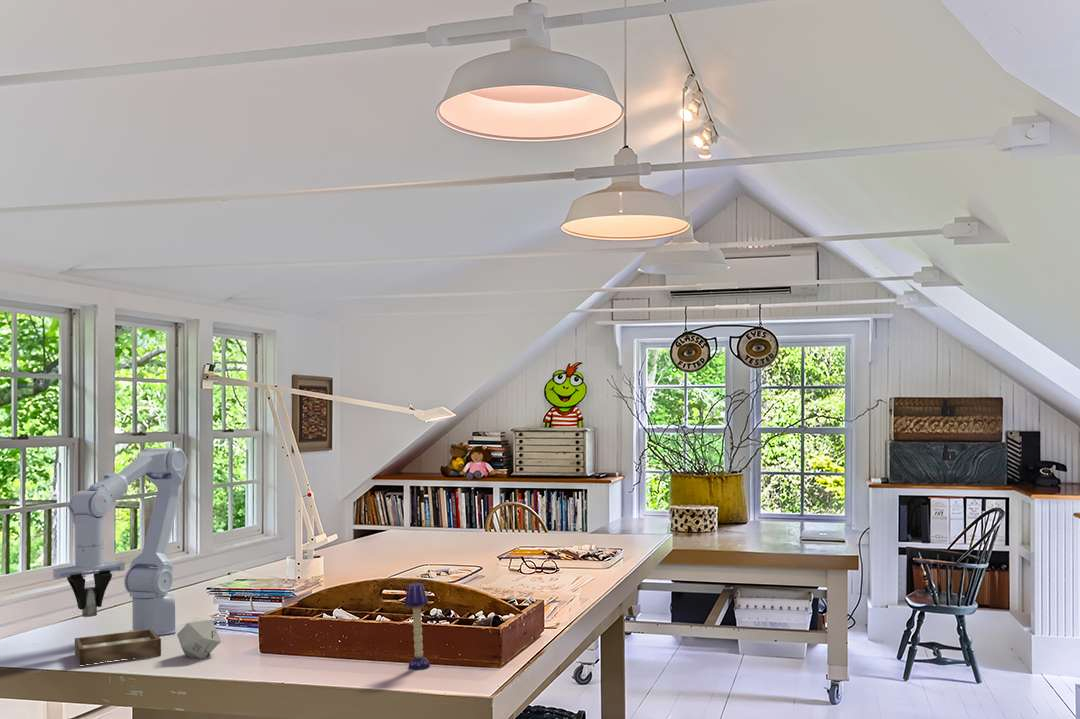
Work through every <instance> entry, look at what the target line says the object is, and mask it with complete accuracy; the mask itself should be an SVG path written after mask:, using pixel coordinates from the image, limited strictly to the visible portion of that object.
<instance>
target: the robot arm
mask: <svg viewBox="0 0 1080 719" xmlns="http://www.w3.org/2000/svg"><path fill="white" fill-rule="evenodd" d="M188 462H189V461H188V459H187V457H186V455H185V451H184V450H183V449H181V447H171V448H169V447H168V448H167V447H164V448H161V447H160V448H154V447H153V448H152V447H145V448H144V449H143V450H142V451H140V452H137V455H136V458H135V459H134V460H132V461H131V462H130V463H129V464H128V465H126V466H125V467H124V468H122V470H120V471H119V472H118V473H117V472H106V473H105V474H103V476H102V477H103V478H101V479H100V480H99V481H96V483H92V484H91V485H89V488H87V489H86V490H79V491H77V492H76V493H75V494H73V496H71V499H70V502H69V504H68V511H69V513H70V514H71V516H72V522H73V524H74V528H75V529H74V530H75V531H74V533H75V534H74V535H75V538H74V539H75V542H74V544H75V545H74V546H75V547H74V548H75V550H74V551H75V552H74V553H75V555H74V558H75V560H74V561H75V562H74V563H75V564H74V565H72V566H70V565H69V566H66V567H59V568H58V567H57V568H53V569H52V570H53V571H52V578H53V579H55V580H58V579H59V580H60V579H64V578H66V580H67V582H68V583H69V586H70V587H71V589H72V591H73V594H74V597H75V599H76V604H77V609H79V610H81V611H82V609H84V605H85V604H84V588H85V587H86V586H85V585H86V579H85V578H84V576H86V575H87V576H88V575H93V579H94V587H97V608H101V607H102V605H103V601H104V596H105V594H106V590H107V588H108V586H109V584H110V582H111V581H112V580H111V579H112V578H113V573H111V572H122V571H125V569H126V568H125V567H126V562H125V561H122V560H119V561H107V562H104V559H105V558H104V557H105V556H104V555H105V554H104V552H105V551H104V549H105V548H104V546H105V544H104V534H105V533H104V516H106V515H107V514H108V512H109V511H110V510H109V509H110V507H111V506H112V504H113V503H114V502H116V501H117V500H118V499H120V498H121V497H122V496H123V495H126V493H127V491H128V488H129V487H128V486H129V485H130V484H133V483H134V482H136V481H137V480H138V479H140V478H142V477H143V476H145V477H146V478H147V479H148V480H149V481H150V483H151V484H153V485H154V486H155V487H156V489H157V490H156V491H157V492H156V495H155V499H154V503H153V507H152V512H151V514H150V519H149V524H148V528H147V531H146V534H145V535H146V536H145V540H144V544H143V548H142V551H141V553H140V554H138V555H137V556H136V557H134V558H133V559H132V560H131V563H130V566H129V569H128V570H127V571H126V573H125V576H124V582H123V584H124V588H125V591H127V592H128V593H129V598H130V597H131V599H132V609H131V610H132V612H131V613H132V629H129V630H128V632H130V631H139V630H147V629H153V630H154V632H155V633H156V634H157V635H158V636H163V635H170V634H177V631H176V600H175V596H174V593H169V591H170V589H171V587H172V585H173V582H174V581H173V579H174V578H173V569H174V564H173V563H172V562H171V561H170V560H169V559H168V557H167V552H168V548H169V543H170V539H171V535H172V531H173V526H174V522H175V520H176V519H175V518H176V513H177V510H178V505H179V503H180V502H179V501H180V497H181V493H182V489H183V483H184V479H185V476H186V470H187V468H188V467H187V466H188Z"/></svg>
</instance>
